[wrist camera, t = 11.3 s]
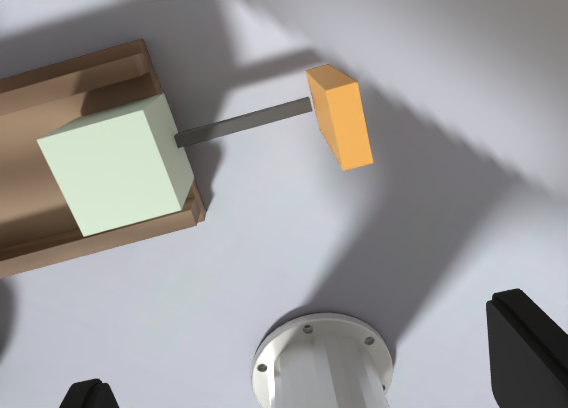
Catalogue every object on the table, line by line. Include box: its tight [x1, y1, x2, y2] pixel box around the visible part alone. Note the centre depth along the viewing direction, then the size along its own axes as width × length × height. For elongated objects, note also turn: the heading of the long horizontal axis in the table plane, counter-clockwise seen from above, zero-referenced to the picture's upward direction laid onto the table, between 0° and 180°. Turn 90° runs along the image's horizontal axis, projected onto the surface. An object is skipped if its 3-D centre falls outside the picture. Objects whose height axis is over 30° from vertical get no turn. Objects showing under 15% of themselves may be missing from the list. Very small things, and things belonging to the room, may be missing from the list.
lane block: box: [37, 64, 373, 236], centre depth 26 cm, size 6×17×10 cm, turn 105°
